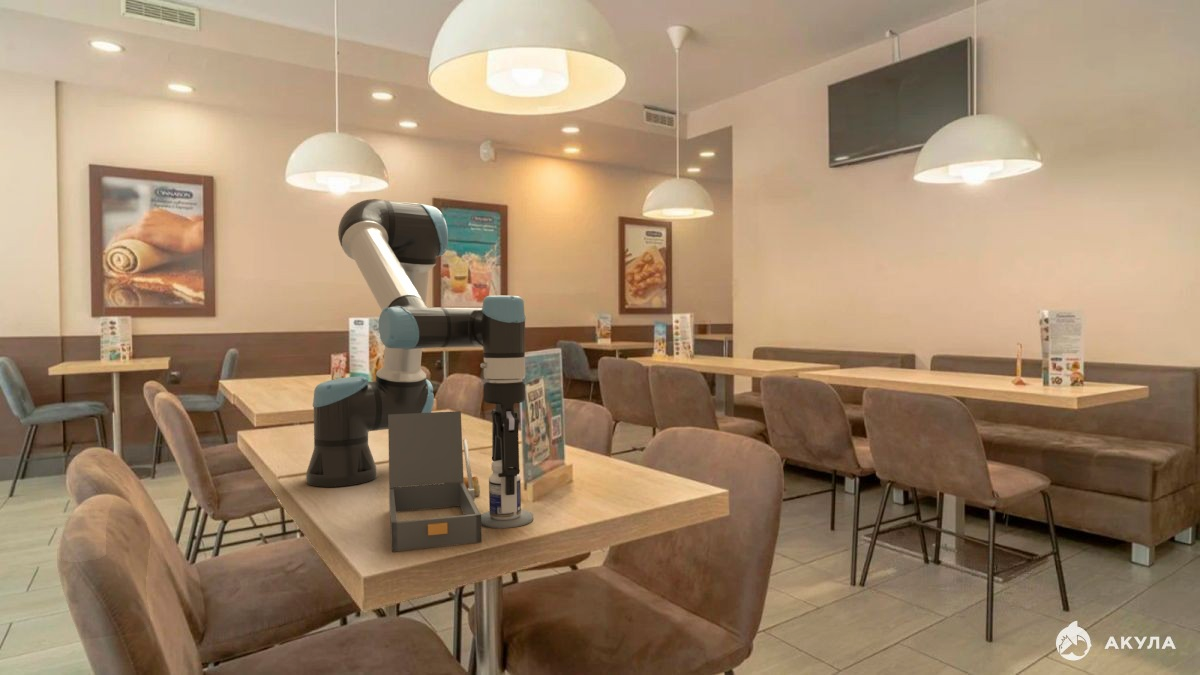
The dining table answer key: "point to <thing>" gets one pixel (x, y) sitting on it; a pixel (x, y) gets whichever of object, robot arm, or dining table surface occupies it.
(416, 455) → the case
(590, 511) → the dining table surface
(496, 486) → the pill bottle
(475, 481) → the pastry
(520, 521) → the pad
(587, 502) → the dining table surface
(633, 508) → the dining table surface
